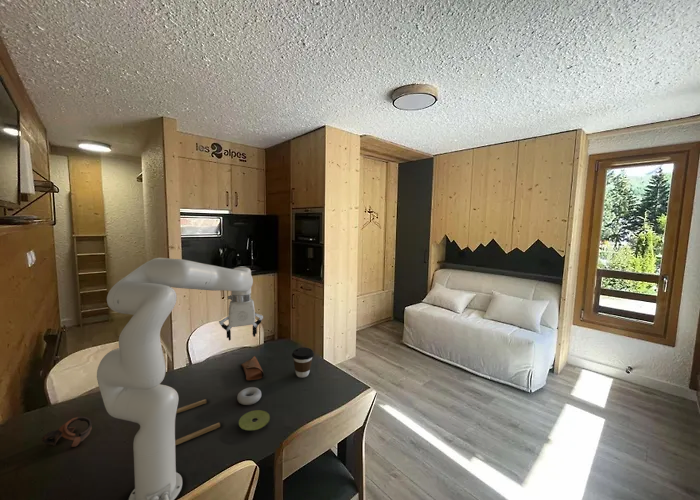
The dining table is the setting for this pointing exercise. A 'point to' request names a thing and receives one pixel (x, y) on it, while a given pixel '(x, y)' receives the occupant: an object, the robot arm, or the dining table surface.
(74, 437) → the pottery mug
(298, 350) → the coffee cup
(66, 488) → the dining table surface
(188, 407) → the frame
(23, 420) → the dining table surface
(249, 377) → the sunglasses case
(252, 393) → the donut
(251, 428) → the mat
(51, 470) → the dining table surface
